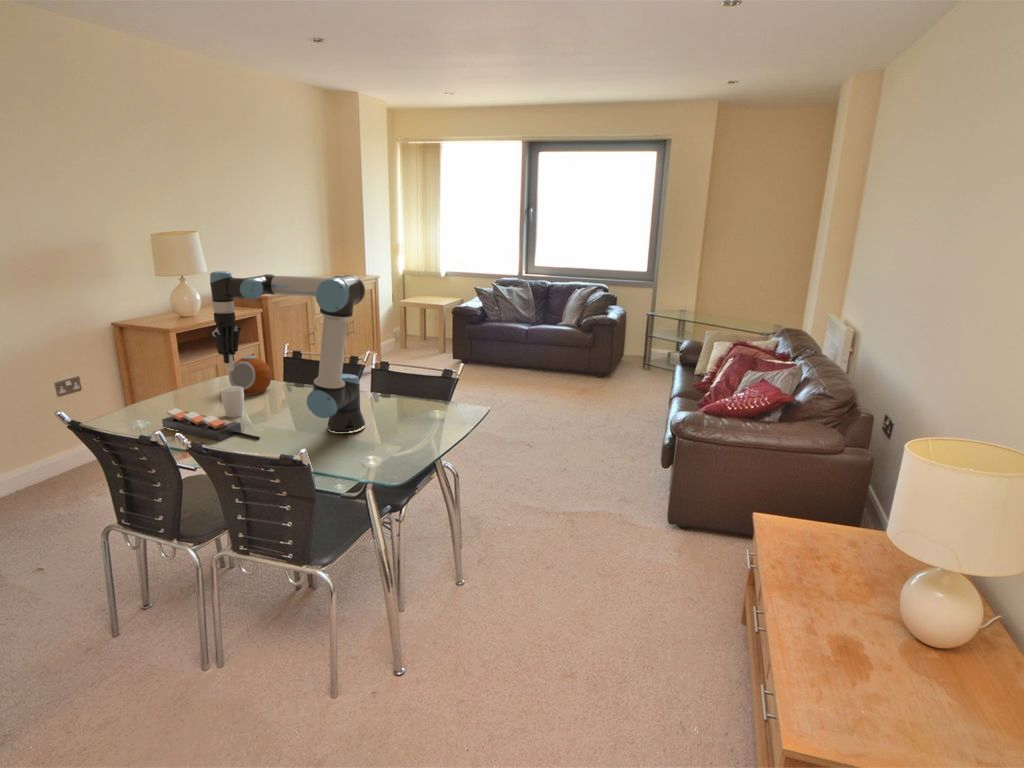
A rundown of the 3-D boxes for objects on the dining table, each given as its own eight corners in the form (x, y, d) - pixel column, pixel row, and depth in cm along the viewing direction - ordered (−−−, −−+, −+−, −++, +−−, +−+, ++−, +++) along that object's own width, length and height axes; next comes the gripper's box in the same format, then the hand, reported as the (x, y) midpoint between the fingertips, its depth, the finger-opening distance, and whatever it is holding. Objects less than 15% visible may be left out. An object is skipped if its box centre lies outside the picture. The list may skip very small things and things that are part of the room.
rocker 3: (224, 425, 235) (225, 422, 235) (215, 428, 231) (215, 425, 231) (211, 417, 237) (211, 415, 237) (201, 421, 233) (202, 418, 233)
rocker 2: (206, 421, 239) (207, 418, 238) (197, 424, 235) (197, 422, 234) (193, 414, 240) (194, 411, 240) (184, 417, 236) (184, 414, 236)
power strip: (264, 437, 237) (263, 425, 235) (243, 446, 227) (241, 434, 226) (186, 420, 252) (185, 409, 250) (163, 428, 242) (161, 416, 240)
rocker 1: (189, 417, 242) (189, 414, 242) (179, 420, 238) (179, 418, 237) (176, 410, 244) (176, 408, 243) (166, 413, 240) (166, 411, 239)
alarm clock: (222, 394, 287) (219, 359, 282) (244, 384, 303) (241, 351, 298) (259, 397, 284) (256, 362, 279) (279, 387, 301) (276, 354, 296)
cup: (237, 419, 255) (234, 392, 251) (218, 417, 256) (215, 390, 253) (250, 412, 263) (247, 386, 260) (232, 410, 265) (229, 384, 262)
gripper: (230, 308, 239) (235, 365, 246) (202, 313, 228) (209, 372, 234) (244, 310, 237) (249, 367, 243) (217, 315, 225) (224, 375, 232)
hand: (230, 370), depth 239 cm, fingers closed
